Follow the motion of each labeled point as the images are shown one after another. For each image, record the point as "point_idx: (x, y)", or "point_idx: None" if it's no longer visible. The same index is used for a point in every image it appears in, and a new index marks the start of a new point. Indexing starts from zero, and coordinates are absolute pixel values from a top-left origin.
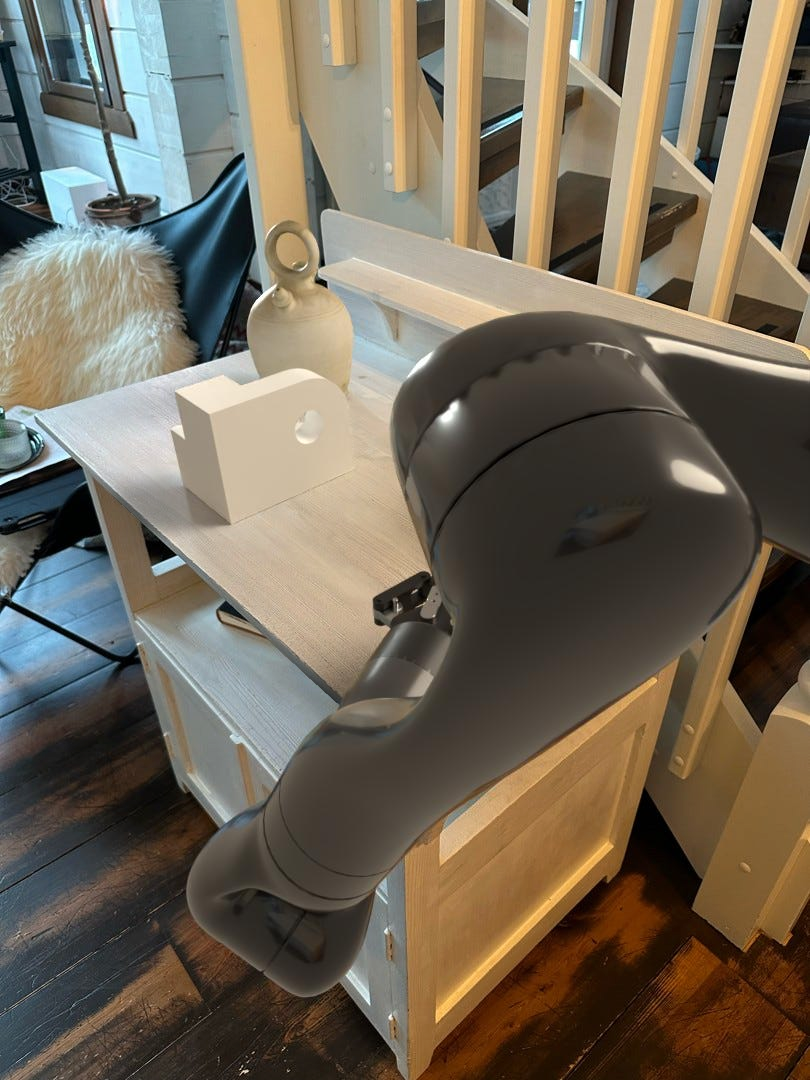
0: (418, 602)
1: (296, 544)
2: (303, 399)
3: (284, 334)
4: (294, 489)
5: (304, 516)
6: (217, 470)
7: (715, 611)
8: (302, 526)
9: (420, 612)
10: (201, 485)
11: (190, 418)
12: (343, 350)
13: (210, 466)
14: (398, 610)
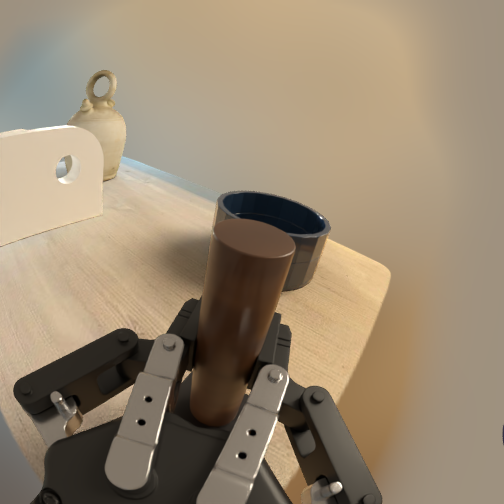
0: (116, 388)
1: (33, 268)
2: (66, 143)
3: (81, 127)
4: (51, 223)
5: (50, 245)
6: None
7: None
8: (45, 253)
9: (105, 465)
10: None
11: None
12: (116, 143)
13: None
14: (66, 420)
